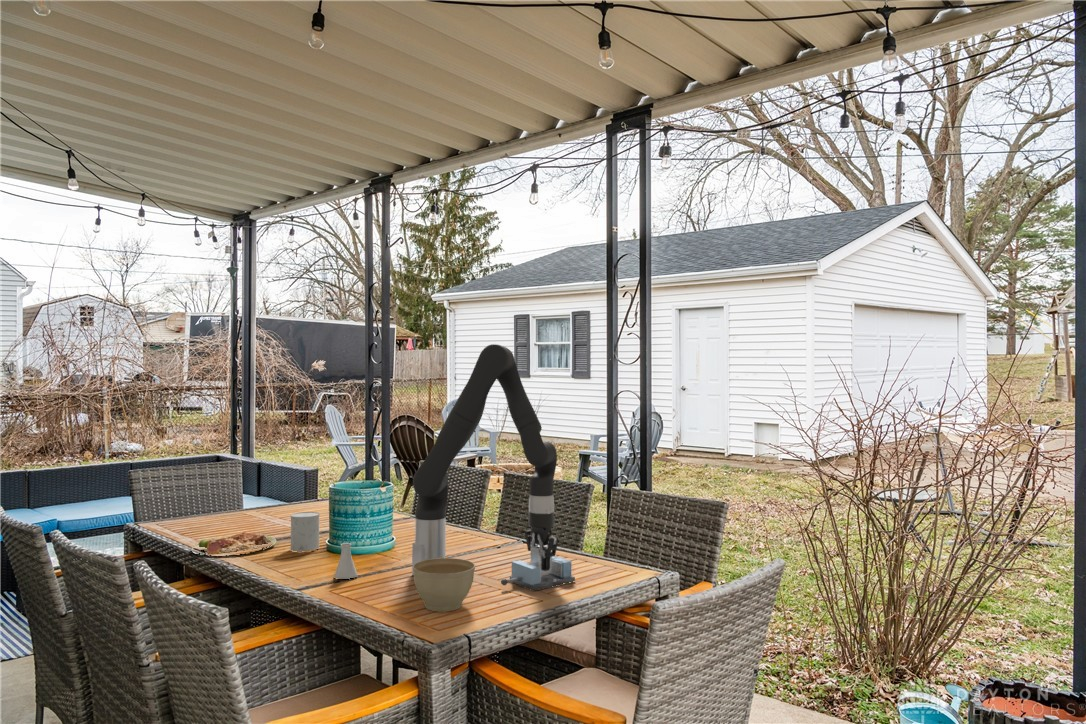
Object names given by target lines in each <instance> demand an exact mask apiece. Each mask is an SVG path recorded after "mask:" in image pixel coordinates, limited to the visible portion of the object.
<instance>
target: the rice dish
mask: <svg viewBox="0 0 1086 724" xmlns="http://www.w3.org/2000/svg"><path fill="white" fill-rule="evenodd" d="M267 540H270V541H271V542H269V543H272V545H271V546H270V547H267V548H265V549H268V548H271V547H273V546H274V545H275V544H276V543H277V539H276V538H274V537H273V536H271V535H266V534H264V533H263V534H261V533H260V532H246V531H243V532H241V533H237V534H233V535H224V536H218V537H214V538H210V539H202V540H200V542H198V543H197V544H194V545H193V546H192V547H191V548H190V550H191V549H193V548H194V547H195V546H197V545H199V547H205V548H207V549H208V550H206V551H207V553H208V554H223V553H229V552H237V551H240V550H243V551H245V550H253V549H259V547H258V546H256V545H262V544H268V543H267ZM261 548H262V547H261ZM265 549H264V550H265Z"/></svg>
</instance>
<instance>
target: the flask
mask: <svg viewBox="0 0 1086 724" xmlns="http://www.w3.org/2000/svg"><path fill="white" fill-rule="evenodd" d="M351 546H352V543H350V542H343V543H341V544H340V548H341V551H340V552H341V553H340V557H339V561H338V563H337V564H338V565H337V567H336V569H335V572H334V576H333V578H334V577H335V578H338V579H349V580H351V579H350V578H353V577H357V578H358V576H357V574H358V571H357V569H356V567H355V563H354V560H353V558H352V553H351Z"/></svg>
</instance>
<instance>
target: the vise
mask: <svg viewBox="0 0 1086 724" xmlns="http://www.w3.org/2000/svg"><path fill="white" fill-rule="evenodd" d="M509 579H513V577H512V575H511V576H509ZM573 581H575V582H576V577H575V576H574V575H572V561H571V560H569V559H567V558H562V557H559V556H556V555H555V556H552V574H548V575H543V576H541V582H540V583H538V584H534V585H531V584H528V583H526V582H523V581H516V582H512V583H513V584H515V585H517V586H519V585H520V587H522V588H524V587H525V589H527V588H528V589H527V590H529V589H531V590H530V591H532V590H533V592H535V590H537V591H540V590H539V589H542V590H544V589H543V588H546V589H549V588H548V587H551V588H553V587H552V586H556V585H560V584H563V583H569V582H573ZM569 584H570V583H569ZM560 586H561V585H560ZM556 587H557V586H556Z"/></svg>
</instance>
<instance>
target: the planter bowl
mask: <svg viewBox="0 0 1086 724" xmlns="http://www.w3.org/2000/svg"><path fill="white" fill-rule="evenodd" d="M475 569H476V564H475V563H474V562H473V561H470V560H467V559H462V558H453V557H445V558H436V559H428V560H423V561H420V562H418V563H416V564H414V565H413V571H414V575H413V578H414V584H415V588H416V590H417V593H418V595H419V596H420V598H421V600H422V601H423V603H424V607H425V608H426V610H428V611H432V612H439V613H442V612H443V613H446V612H453V611H456V610H458V609H460V608H462V605H463V601H464V600H466V598H467V597H468V595H469V592H470V590H471V589H472V586H473V582H474V578H475V577H474V576H475Z"/></svg>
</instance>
